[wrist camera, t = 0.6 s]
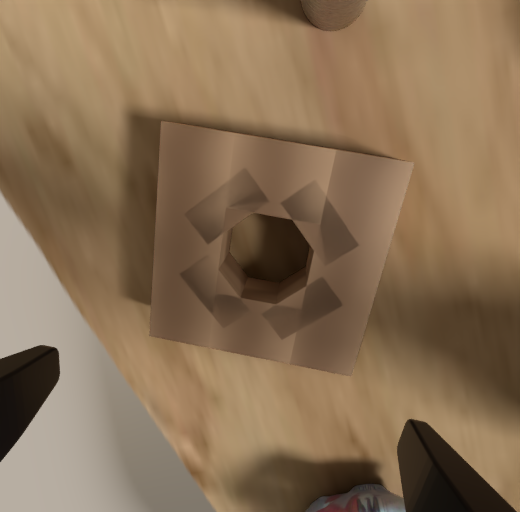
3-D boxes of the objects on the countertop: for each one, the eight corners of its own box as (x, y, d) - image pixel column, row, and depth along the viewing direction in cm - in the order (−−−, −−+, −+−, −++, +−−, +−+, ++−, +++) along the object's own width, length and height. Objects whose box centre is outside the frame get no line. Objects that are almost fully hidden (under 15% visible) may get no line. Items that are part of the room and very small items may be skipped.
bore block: (397, 159, 19) (414, 162, 16) (345, 346, 23) (351, 376, 20) (181, 123, 19) (161, 121, 16) (167, 311, 23) (149, 335, 20)
